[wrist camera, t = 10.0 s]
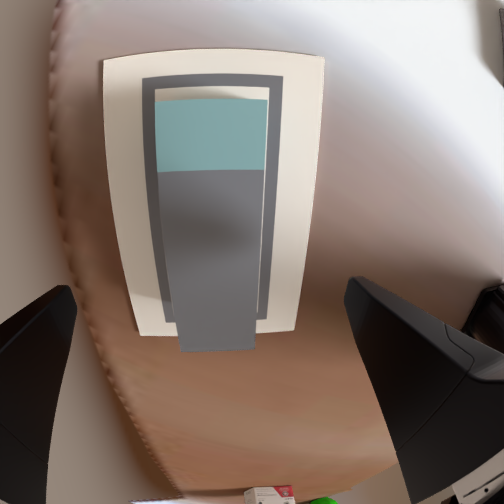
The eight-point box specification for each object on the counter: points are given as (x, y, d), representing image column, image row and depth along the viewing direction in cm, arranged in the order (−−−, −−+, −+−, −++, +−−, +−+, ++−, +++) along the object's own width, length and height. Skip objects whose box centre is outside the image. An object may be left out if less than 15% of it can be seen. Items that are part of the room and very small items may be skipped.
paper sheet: (292, 327, 19) (294, 330, 19) (141, 332, 18) (140, 336, 17) (322, 58, 11) (325, 57, 11) (105, 60, 10) (103, 60, 10)
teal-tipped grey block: (246, 303, 17) (254, 349, 14) (184, 305, 16) (181, 351, 13) (253, 100, 12) (267, 99, 8) (171, 101, 11) (154, 101, 8)
